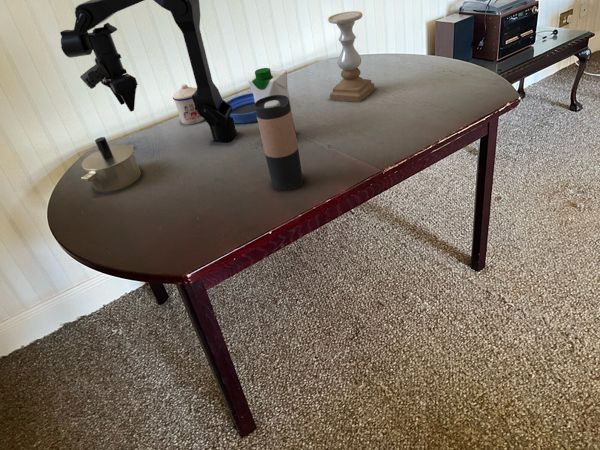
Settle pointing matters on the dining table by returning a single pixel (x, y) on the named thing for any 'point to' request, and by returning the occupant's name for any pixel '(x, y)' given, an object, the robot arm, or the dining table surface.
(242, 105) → the bowl
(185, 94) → the teacup with lid
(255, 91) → the milk carton
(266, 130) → the travel mug
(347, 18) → the candle holder
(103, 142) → the lid
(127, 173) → the pot
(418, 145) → the dining table surface
